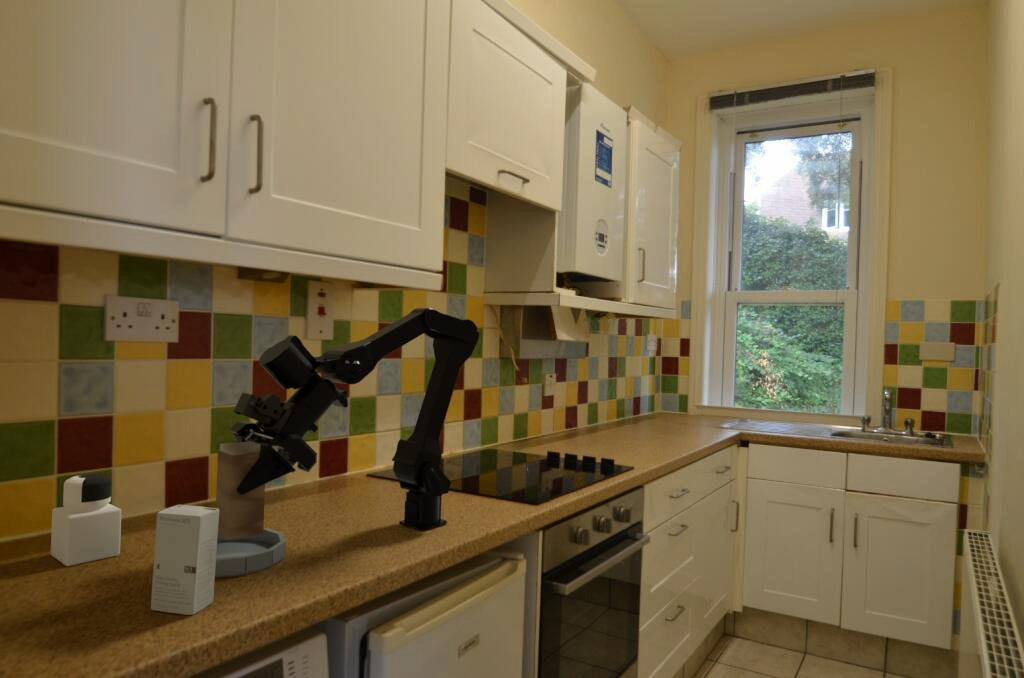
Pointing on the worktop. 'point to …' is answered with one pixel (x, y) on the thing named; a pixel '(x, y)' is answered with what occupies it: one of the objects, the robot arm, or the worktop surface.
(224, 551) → the slate dish
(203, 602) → the skincare box
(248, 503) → the walnut block
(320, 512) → the worktop surface
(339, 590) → the worktop surface
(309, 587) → the worktop surface
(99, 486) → the medicine bottle
